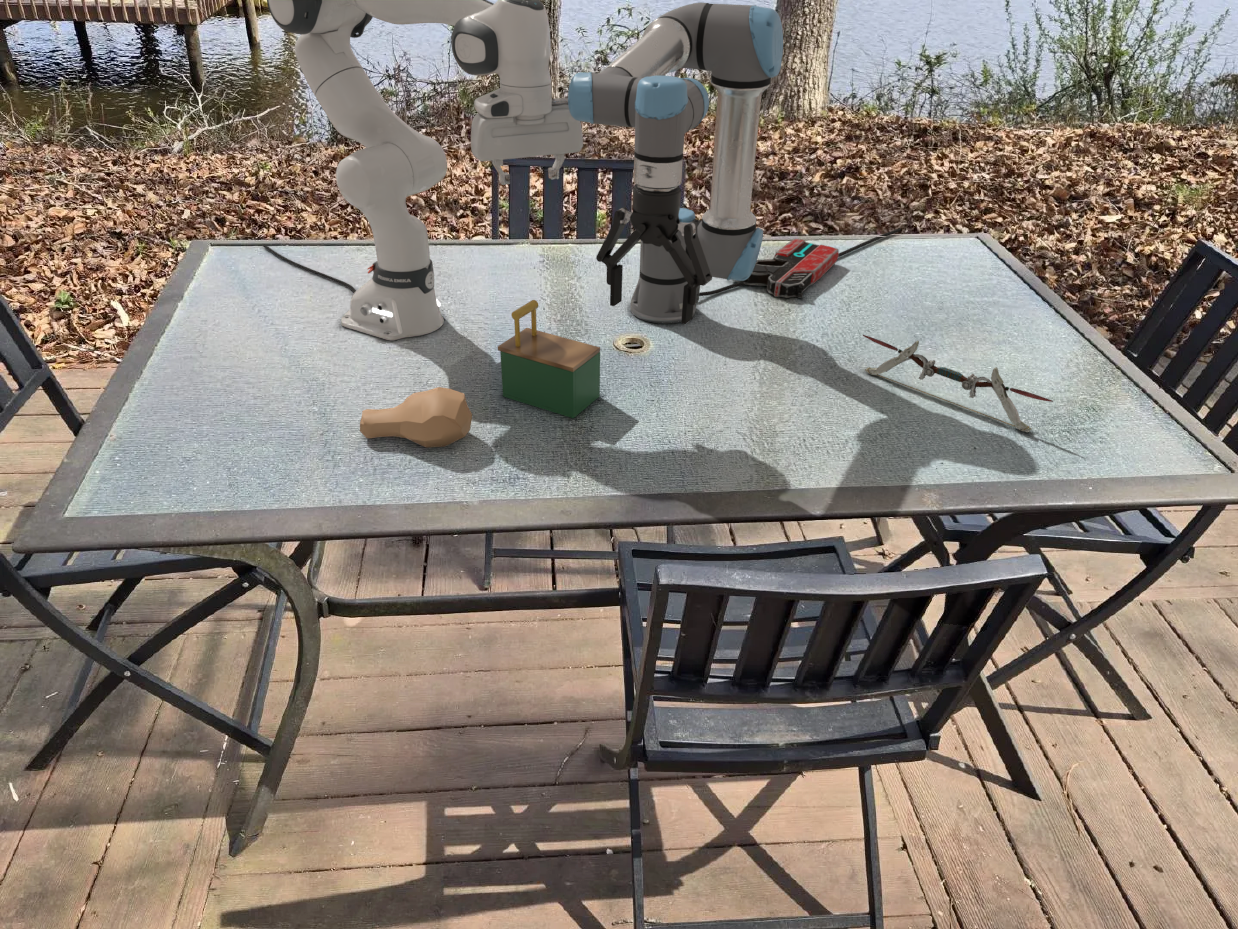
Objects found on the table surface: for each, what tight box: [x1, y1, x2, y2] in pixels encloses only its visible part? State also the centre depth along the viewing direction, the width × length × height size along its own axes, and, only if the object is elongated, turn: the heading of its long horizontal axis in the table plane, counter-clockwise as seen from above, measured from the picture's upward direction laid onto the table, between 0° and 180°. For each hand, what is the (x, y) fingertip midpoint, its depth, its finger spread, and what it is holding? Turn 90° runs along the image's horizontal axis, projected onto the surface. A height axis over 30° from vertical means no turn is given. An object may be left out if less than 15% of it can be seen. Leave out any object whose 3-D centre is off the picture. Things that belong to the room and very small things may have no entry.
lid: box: [497, 299, 601, 372], centre depth 162 cm, size 17×10×8 cm, turn 61°
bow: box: [862, 334, 1055, 433], centre depth 169 cm, size 39×2×10 cm, turn 47°
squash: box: [359, 386, 473, 449], centre depth 154 cm, size 11×20×9 cm, turn 90°
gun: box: [732, 238, 840, 299], centre depth 224 cm, size 4×31×19 cm
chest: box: [499, 351, 601, 419], centre depth 167 cm, size 16×10×10 cm, turn 61°
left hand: (529, 181), depth 160 cm, fingers open, 8 cm apart
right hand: (650, 312), depth 148 cm, fingers open, 13 cm apart
